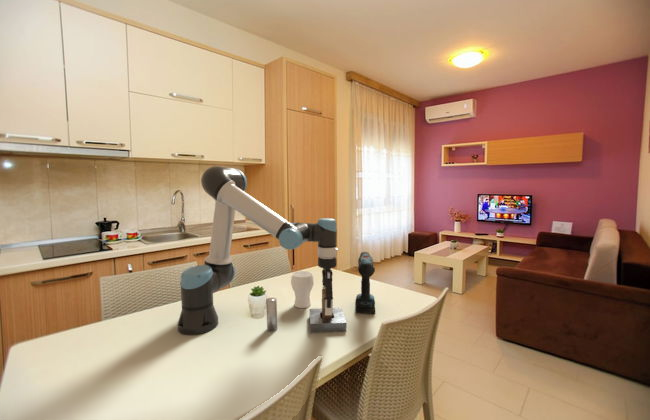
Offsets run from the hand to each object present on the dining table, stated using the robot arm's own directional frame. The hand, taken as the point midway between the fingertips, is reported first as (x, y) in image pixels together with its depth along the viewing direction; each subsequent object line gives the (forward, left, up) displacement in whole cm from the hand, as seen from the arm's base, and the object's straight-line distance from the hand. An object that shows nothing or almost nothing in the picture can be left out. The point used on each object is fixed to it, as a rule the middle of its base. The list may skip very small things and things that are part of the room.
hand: (327, 307), depth 121 cm
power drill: (+19, +15, -7) cm, 25 cm away
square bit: (0, 0, -7) cm, 7 cm away
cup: (-10, +20, -7) cm, 23 cm away
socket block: (0, 0, -7) cm, 7 cm away
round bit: (-22, -3, -7) cm, 23 cm away
